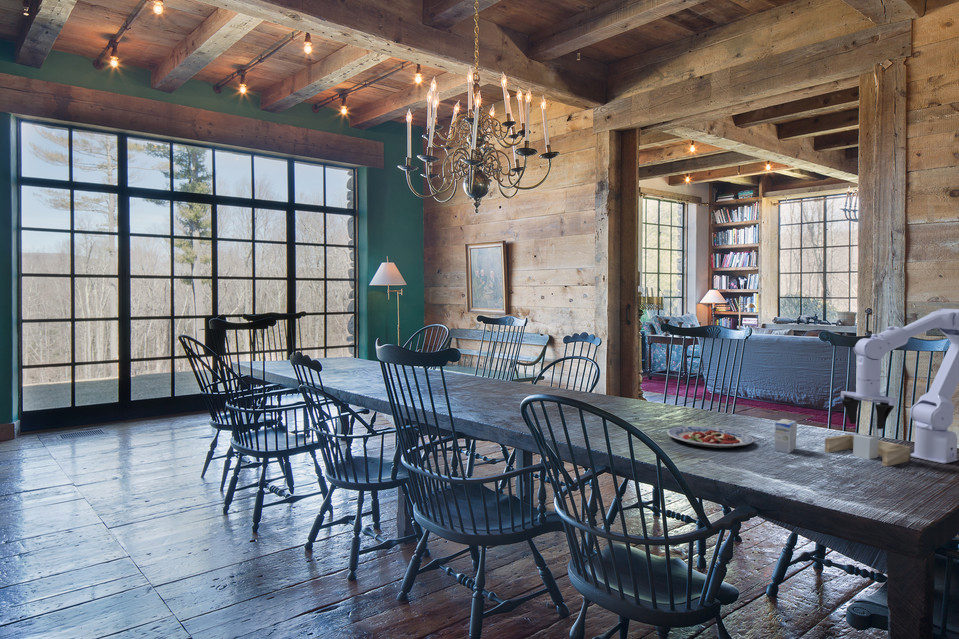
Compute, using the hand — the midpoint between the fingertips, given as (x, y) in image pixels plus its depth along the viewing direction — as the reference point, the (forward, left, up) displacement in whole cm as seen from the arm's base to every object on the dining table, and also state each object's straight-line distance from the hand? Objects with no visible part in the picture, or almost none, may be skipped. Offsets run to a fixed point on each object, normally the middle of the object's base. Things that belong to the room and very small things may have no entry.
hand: (866, 426), depth 177 cm
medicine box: (+15, +14, -9) cm, 23 cm away
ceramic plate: (+33, +26, -9) cm, 44 cm away
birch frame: (0, -1, -9) cm, 9 cm away
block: (0, 0, -9) cm, 9 cm away
